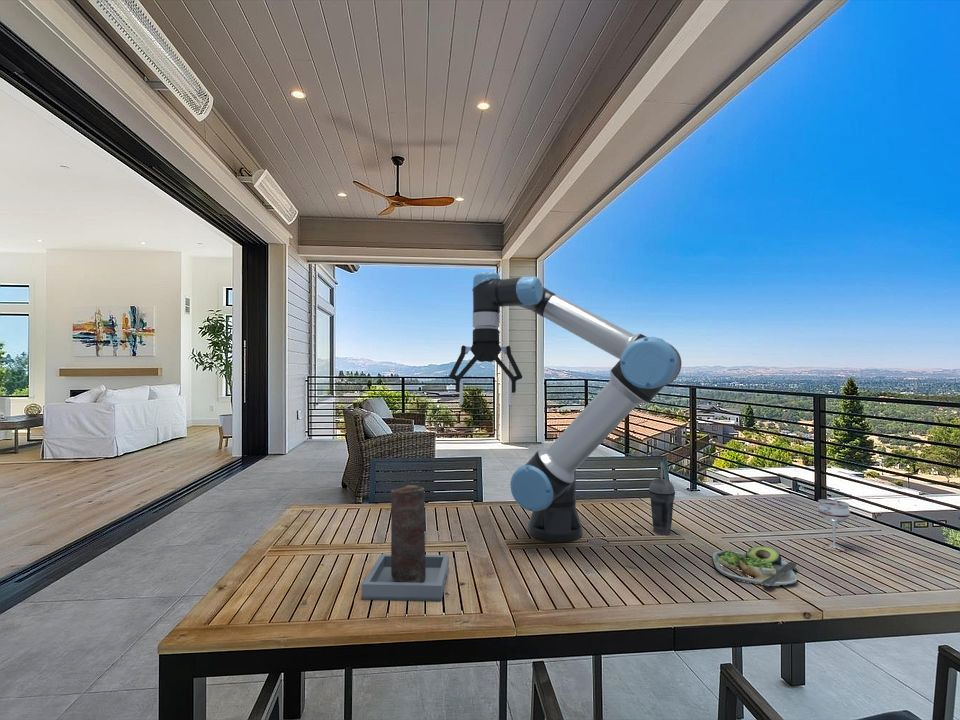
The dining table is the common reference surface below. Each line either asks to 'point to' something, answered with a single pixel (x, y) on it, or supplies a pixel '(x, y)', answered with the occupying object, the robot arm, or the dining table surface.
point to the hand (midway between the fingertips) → (485, 404)
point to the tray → (387, 588)
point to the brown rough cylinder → (408, 534)
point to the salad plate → (757, 566)
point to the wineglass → (834, 513)
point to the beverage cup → (662, 504)
